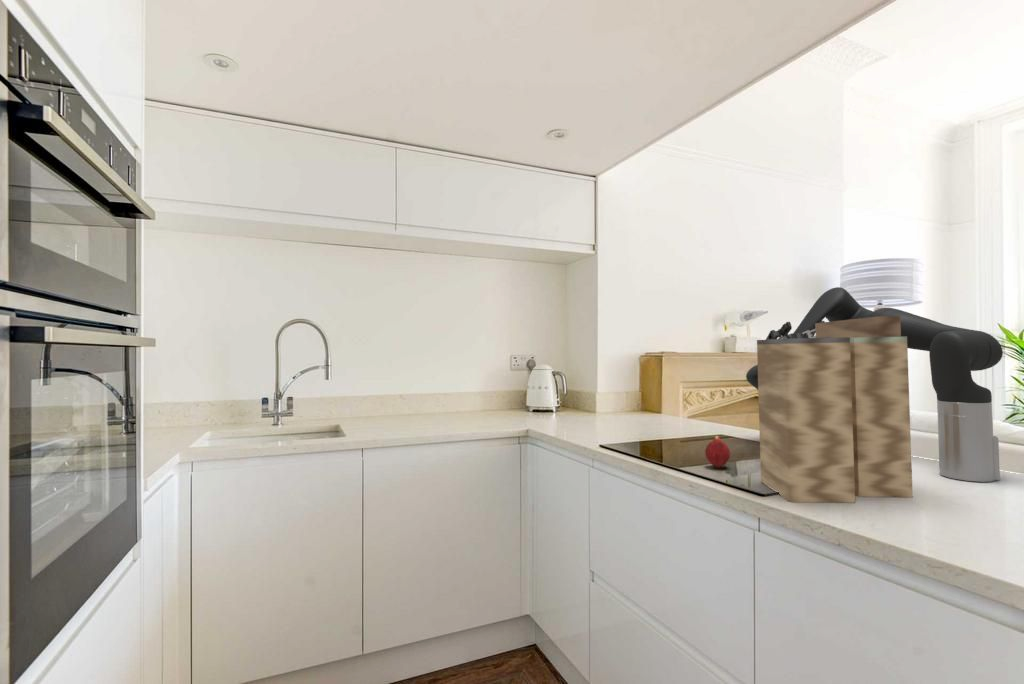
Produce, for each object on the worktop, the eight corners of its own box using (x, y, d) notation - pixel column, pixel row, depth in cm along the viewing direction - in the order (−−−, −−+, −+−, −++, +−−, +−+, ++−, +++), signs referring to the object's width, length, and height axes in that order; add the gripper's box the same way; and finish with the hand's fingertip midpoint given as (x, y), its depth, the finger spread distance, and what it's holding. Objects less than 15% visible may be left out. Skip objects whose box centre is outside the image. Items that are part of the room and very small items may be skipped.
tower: (868, 478, 112) (864, 338, 112) (912, 497, 98) (907, 336, 98) (822, 478, 113) (817, 339, 113) (859, 496, 99) (853, 337, 99)
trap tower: (817, 483, 109) (813, 339, 110) (855, 502, 95) (849, 337, 96) (761, 482, 110) (756, 340, 111) (790, 501, 96) (785, 338, 97)
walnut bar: (833, 339, 120) (832, 322, 120) (900, 336, 96) (900, 315, 96) (815, 339, 120) (815, 323, 120) (878, 336, 96) (878, 316, 96)
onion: (732, 471, 121) (731, 438, 121) (708, 470, 122) (707, 438, 122) (727, 465, 127) (726, 434, 127) (703, 464, 128) (703, 434, 128)
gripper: (754, 344, 144) (774, 312, 131) (805, 343, 143) (831, 311, 129) (760, 366, 141) (781, 336, 127) (813, 365, 139) (840, 335, 125)
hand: (806, 324), depth 128 cm, fingers open, 8 cm apart
